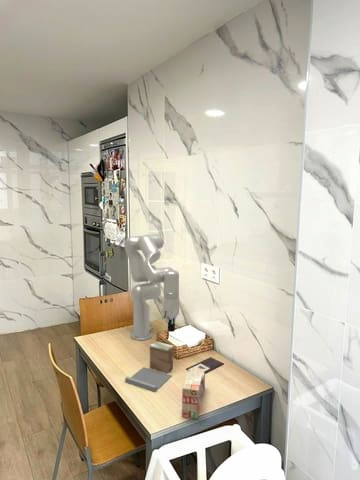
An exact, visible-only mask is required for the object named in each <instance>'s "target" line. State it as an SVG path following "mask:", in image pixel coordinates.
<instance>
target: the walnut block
mask: <svg viewBox="0 0 360 480" xmlns="http://www.w3.org/2000/svg"><path fill="white" fill-rule="evenodd" d="M173 368H174V345H173V344H172V345H171V344H169V343H164V342H160V341H156V340H155V341H154V342H153V343H151V344H149V369H152V370H155V371H159V372H162V373H165V374H169V373H170V372H172V370H173Z"/></svg>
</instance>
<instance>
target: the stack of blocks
mask: <svg viewBox="0 0 360 480" xmlns="http://www.w3.org/2000/svg"><path fill="white" fill-rule="evenodd" d="M205 375H206V374H205V369H197V368H191V370H190V372H189V371H187V374H186V377H185V381H184V383H183V386H182V395H181V396H182V397H181V399H182V400H181V408H182V409H181V417H182V418H186V419H194V420H198V419H199V415H200V411H201V407H202V402H203V401H202V400H203V398H204V393H205V389H206V387H205V386H206V376H205Z"/></svg>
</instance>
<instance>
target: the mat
mask: <svg viewBox="0 0 360 480" xmlns="http://www.w3.org/2000/svg"><path fill="white" fill-rule="evenodd" d="M172 377H173V375H171V374H169V373H168V374H167V373H164V372H161V371H157V370H154V369H150V368H147V367H145V366H143V367H142V368H141V369H139V370H138V371H137V372H136V373H134V374H133V375H132V376H131V377H130V376H126V377H124V382H125V383H126V384H130V385H132V386H135V387H138V388H141V389H145V390H147V391H151V392H153V393H156V392H157V391H158V390H160V389H161V388H162V386H164V384H165V383H167V382H168V380H170V379H171V378H172Z"/></svg>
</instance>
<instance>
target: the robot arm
mask: <svg viewBox="0 0 360 480" xmlns="http://www.w3.org/2000/svg"><path fill="white" fill-rule="evenodd" d="M164 245H165V243H164V239H163V237H162V235H160V234H157V233H156V234H155V233H154V234H143V235H135V236H129V237H127V238H126V239H125V241H124V250H125V253H126V256H127V258H128V262H129V269H130V274H131V279H132V281H133V282H134V283H139V284H137V285H133V287H132V288H131V297H132V298H131V299H132V304H133V305H132V306H133V307H132V308H133V314H132V317H133V319H132V320H133V321H132V322H133V323H132V324H133V327H132V328H133V331H132V332H131V333H130V338H131V339H133V340H136V341H145V340H149V339H150V338H152V337H153V332H151V330H152V329H153V328H154V327H153V325H150V315H151V314H150V305H149V304H148V303H147V301H148V300H155V299H158V298H160V296H161V295H162V289H161V288H162V287H161V284H162V283H163V301H162V307H161V309H162V310H161V317H162V319H164V322H165V323H166V324H167V331H168V332H173V333H174V332H175V330H176V321H177V320H176V318H177V317H178V316H179V315H180V300H179V298H180V273H179V271H177V270H174V269H173V268H172V267H169V266H168V267H167V266H166V267H156V266H155V265H153V264H154V263H156V262H157V261H158V260H159V259H160V258H161V256H162V255H161V251H160V249H162V248H163V247H164ZM139 251H141V252H142V254H141V253H140V252H139ZM143 256H144V257H145V260H144V257H143ZM144 282H147V283H144ZM140 283H141V284H140Z"/></svg>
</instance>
